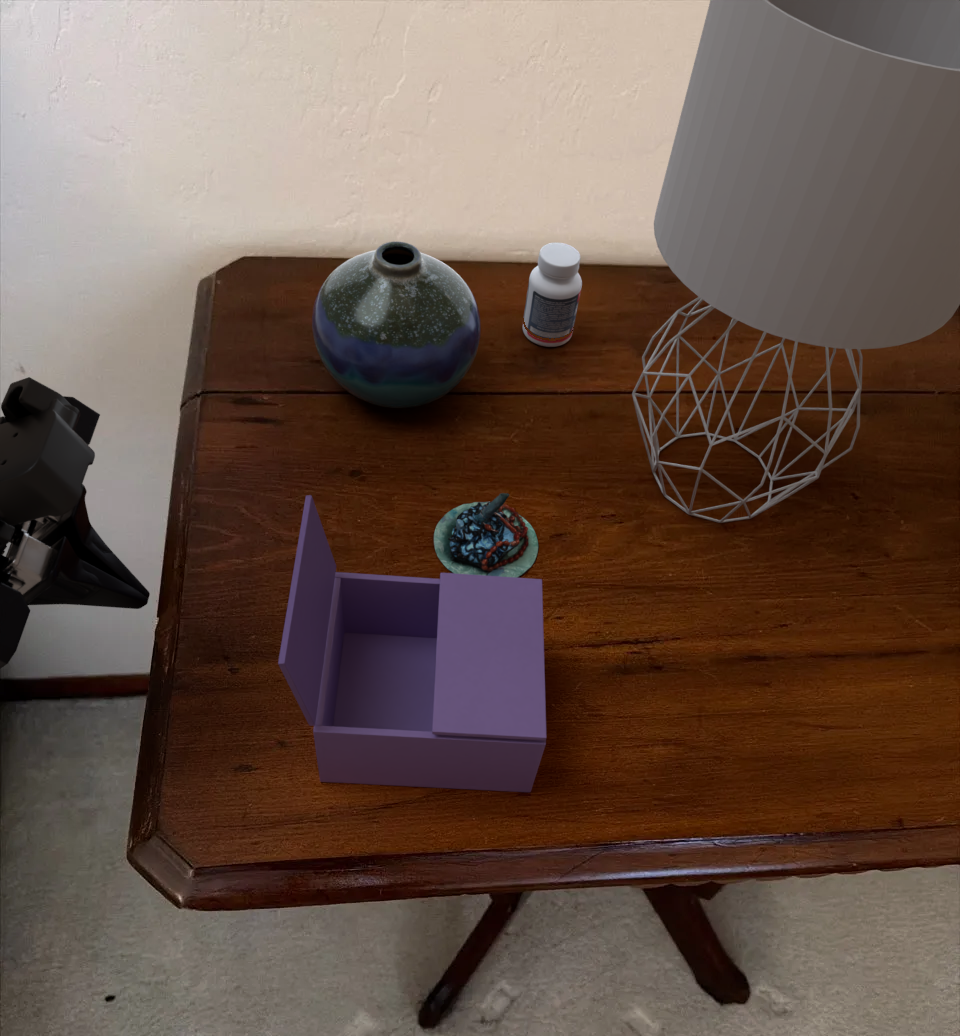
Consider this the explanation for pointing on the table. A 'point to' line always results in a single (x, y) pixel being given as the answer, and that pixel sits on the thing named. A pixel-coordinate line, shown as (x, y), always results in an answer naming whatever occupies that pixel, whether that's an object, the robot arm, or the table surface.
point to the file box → (433, 682)
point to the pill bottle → (553, 295)
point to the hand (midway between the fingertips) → (145, 601)
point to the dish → (486, 540)
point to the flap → (308, 613)
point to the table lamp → (813, 193)
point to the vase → (396, 326)
